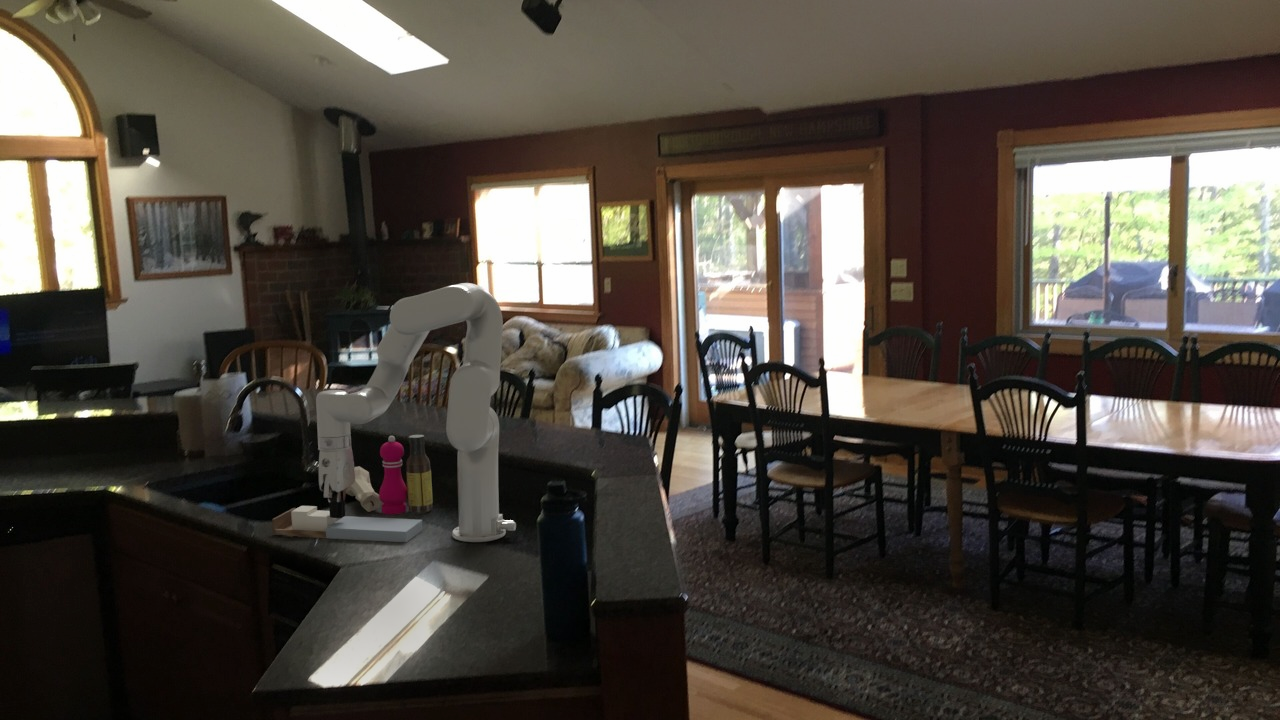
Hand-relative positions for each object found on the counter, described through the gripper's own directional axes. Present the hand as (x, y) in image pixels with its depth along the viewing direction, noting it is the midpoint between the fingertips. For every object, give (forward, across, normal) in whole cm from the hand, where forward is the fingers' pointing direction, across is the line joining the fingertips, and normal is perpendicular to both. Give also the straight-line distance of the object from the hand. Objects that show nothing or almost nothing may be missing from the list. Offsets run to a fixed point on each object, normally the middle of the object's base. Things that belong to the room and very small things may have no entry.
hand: (337, 516), depth 237 cm
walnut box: (+4, 0, +7) cm, 8 cm away
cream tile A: (+3, 0, +4) cm, 5 cm away
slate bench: (+4, 0, -9) cm, 10 cm away
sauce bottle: (+4, +21, -12) cm, 25 cm away
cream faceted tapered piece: (+4, +26, +6) cm, 27 cm away
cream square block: (+1, 0, +7) cm, 7 cm away
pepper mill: (+4, +19, -6) cm, 21 cm away
